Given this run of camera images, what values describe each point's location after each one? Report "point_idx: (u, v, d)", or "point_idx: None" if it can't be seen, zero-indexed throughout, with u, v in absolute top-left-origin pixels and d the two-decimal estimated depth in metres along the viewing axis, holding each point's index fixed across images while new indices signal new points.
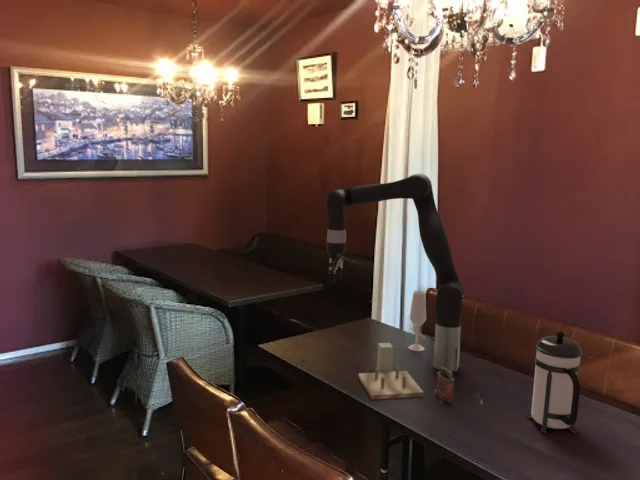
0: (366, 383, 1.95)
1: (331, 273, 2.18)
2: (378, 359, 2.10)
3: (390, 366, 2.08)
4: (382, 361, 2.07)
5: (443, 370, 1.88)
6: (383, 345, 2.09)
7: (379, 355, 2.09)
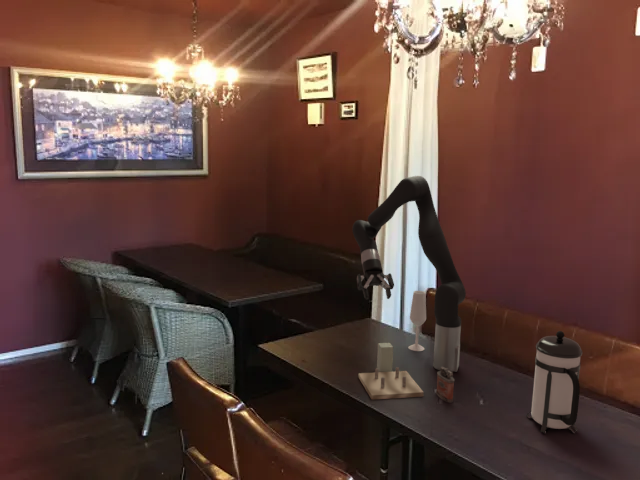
0: (366, 383, 1.95)
1: (361, 288, 2.19)
2: (378, 359, 2.10)
3: (390, 366, 2.08)
4: (382, 361, 2.07)
5: (443, 370, 1.88)
6: (383, 345, 2.09)
7: (379, 355, 2.09)
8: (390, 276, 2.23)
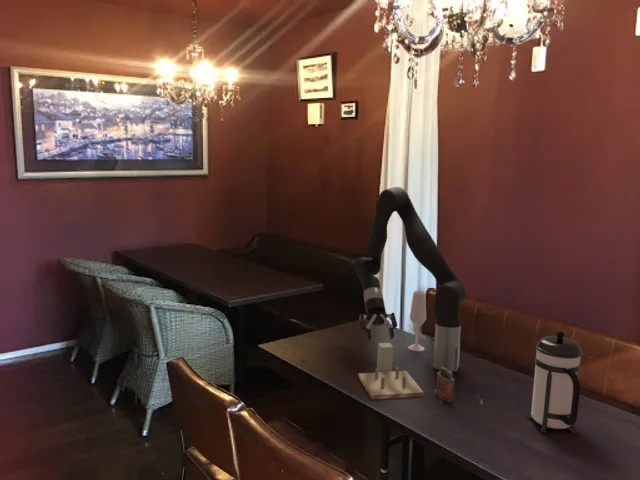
0: (366, 383, 1.95)
1: (363, 328, 2.16)
2: (378, 359, 2.10)
3: (390, 366, 2.08)
4: (382, 361, 2.07)
5: (443, 370, 1.88)
6: (383, 345, 2.09)
7: (379, 355, 2.09)
8: (393, 315, 2.20)
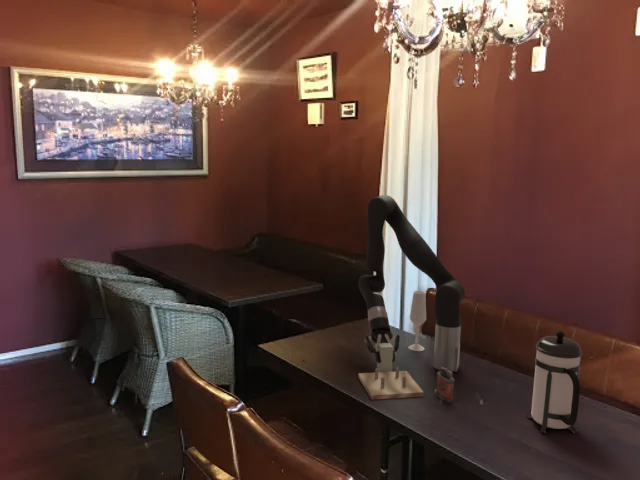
0: (366, 383, 1.95)
1: (373, 351, 2.09)
2: None
3: (390, 366, 2.08)
4: (382, 361, 2.07)
5: (443, 370, 1.88)
6: (383, 345, 2.09)
7: None
8: (398, 338, 2.13)
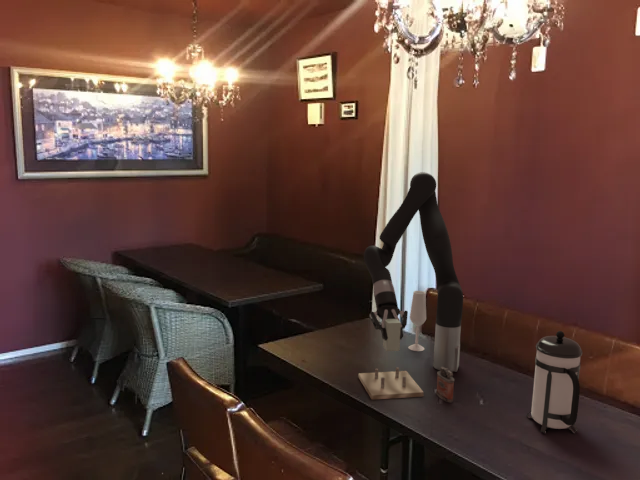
0: (366, 383, 1.95)
1: (378, 327, 1.93)
2: None
3: (397, 343, 1.92)
4: (388, 338, 1.91)
5: (443, 370, 1.88)
6: (390, 320, 1.93)
7: None
8: (405, 314, 1.97)
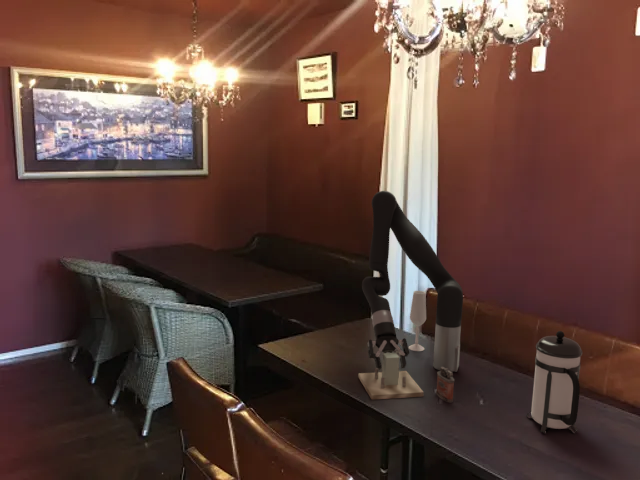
0: (366, 383, 1.95)
1: (372, 356, 1.95)
2: (383, 370, 1.96)
3: (396, 378, 1.94)
4: (387, 372, 1.93)
5: (443, 370, 1.88)
6: (388, 355, 1.95)
7: (384, 366, 1.95)
8: (405, 342, 1.99)
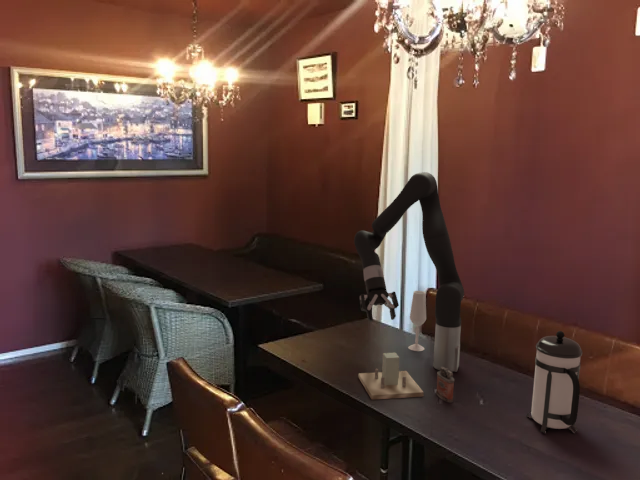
0: (366, 383, 1.95)
1: (364, 310, 2.09)
2: (383, 370, 1.96)
3: (396, 378, 1.94)
4: (387, 372, 1.93)
5: (443, 370, 1.88)
6: (388, 355, 1.95)
7: (384, 366, 1.95)
8: (394, 295, 2.13)
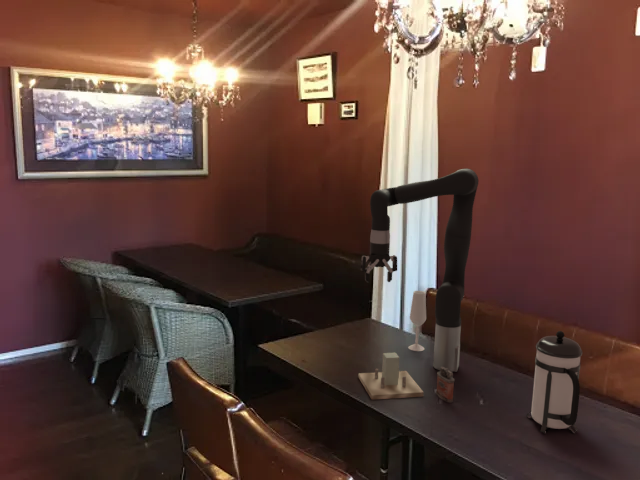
0: (366, 383, 1.95)
1: (363, 271, 2.18)
2: (383, 370, 1.96)
3: (396, 378, 1.94)
4: (387, 372, 1.93)
5: (443, 370, 1.88)
6: (388, 355, 1.95)
7: (384, 366, 1.95)
8: (395, 259, 2.19)
